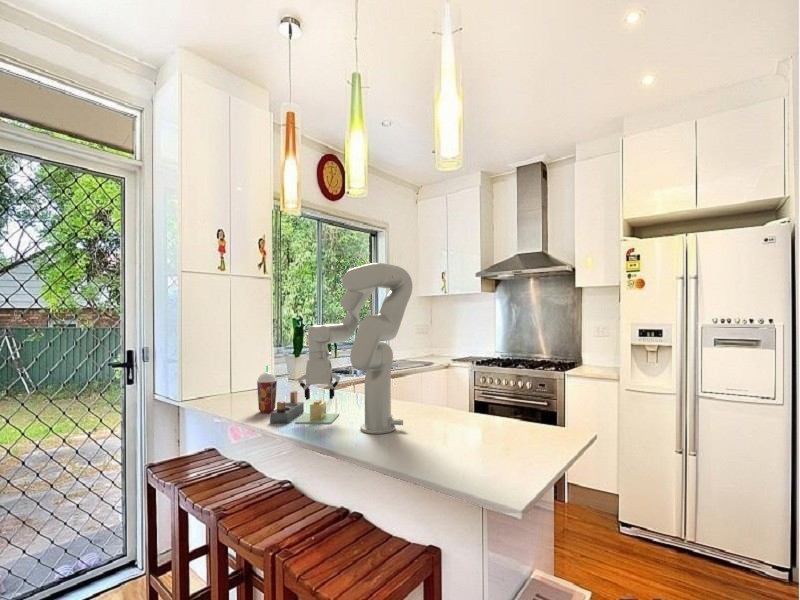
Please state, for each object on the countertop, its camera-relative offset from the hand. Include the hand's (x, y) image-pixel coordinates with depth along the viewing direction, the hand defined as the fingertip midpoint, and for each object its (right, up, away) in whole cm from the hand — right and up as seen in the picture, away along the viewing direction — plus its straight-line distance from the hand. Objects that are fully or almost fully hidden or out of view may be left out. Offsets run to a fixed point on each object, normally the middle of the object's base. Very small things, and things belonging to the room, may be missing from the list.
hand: (319, 398), depth 162 cm
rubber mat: (-1, -8, 0) cm, 8 cm away
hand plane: (-14, -9, +4) cm, 17 cm away
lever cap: (-1, -8, 0) cm, 8 cm away
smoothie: (-26, -9, +14) cm, 31 cm away
